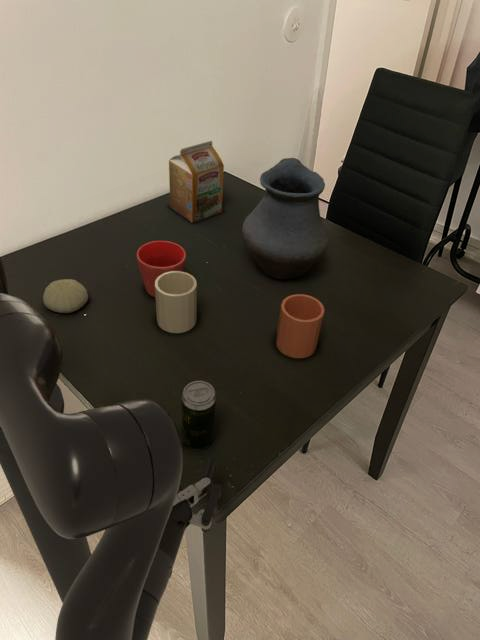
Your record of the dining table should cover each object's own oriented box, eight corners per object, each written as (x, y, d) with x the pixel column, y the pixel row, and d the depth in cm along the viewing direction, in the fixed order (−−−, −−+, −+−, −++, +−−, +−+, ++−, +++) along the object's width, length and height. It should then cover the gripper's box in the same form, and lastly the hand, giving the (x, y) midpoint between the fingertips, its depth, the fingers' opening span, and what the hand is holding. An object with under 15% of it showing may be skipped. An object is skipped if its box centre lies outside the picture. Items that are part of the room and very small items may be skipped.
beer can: (207, 421, 89) (208, 376, 81) (218, 446, 85) (221, 400, 77) (178, 430, 87) (177, 384, 79) (188, 455, 84) (188, 410, 76)
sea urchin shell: (68, 317, 104) (43, 285, 103) (54, 326, 110) (30, 296, 108) (99, 294, 110) (76, 264, 109) (84, 304, 116) (62, 276, 114)
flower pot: (179, 271, 122) (178, 236, 116) (191, 298, 114) (191, 263, 108) (135, 278, 119) (132, 243, 113) (145, 306, 111) (142, 271, 105)
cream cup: (166, 338, 104) (164, 300, 98) (151, 314, 110) (148, 277, 103) (203, 326, 108) (203, 289, 101) (186, 303, 113) (185, 267, 106)
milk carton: (192, 222, 139) (192, 156, 127) (170, 207, 145) (168, 142, 133) (221, 211, 145) (224, 147, 132) (199, 197, 151) (200, 134, 138)
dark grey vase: (241, 291, 118) (249, 193, 101) (238, 241, 134) (244, 149, 117) (328, 294, 119) (349, 197, 102) (314, 243, 135) (331, 153, 119)
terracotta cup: (290, 363, 101) (297, 326, 94) (268, 337, 106) (273, 301, 100) (324, 350, 104) (332, 314, 98) (301, 326, 110) (307, 289, 103)
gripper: (198, 560, 60) (231, 448, 72) (87, 530, 62) (137, 426, 74) (198, 585, 65) (228, 477, 77) (95, 557, 67) (140, 455, 79)
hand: (183, 452), depth 76 cm, fingers open, 8 cm apart
